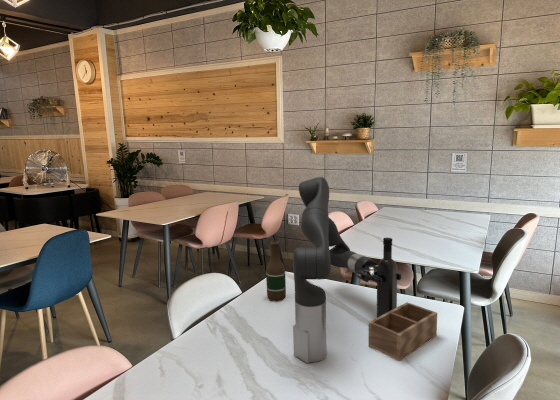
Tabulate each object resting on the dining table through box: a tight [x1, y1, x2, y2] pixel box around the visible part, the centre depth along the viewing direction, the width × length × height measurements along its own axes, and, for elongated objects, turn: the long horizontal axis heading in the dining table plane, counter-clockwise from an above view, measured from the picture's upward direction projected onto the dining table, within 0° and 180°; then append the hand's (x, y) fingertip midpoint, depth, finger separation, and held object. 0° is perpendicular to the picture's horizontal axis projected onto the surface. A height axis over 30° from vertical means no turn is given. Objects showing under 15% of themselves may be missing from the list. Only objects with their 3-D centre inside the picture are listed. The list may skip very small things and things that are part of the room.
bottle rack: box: [368, 301, 438, 362], centre depth 122 cm, size 21×11×8 cm, turn 130°
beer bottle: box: [265, 240, 287, 303], centre depth 156 cm, size 8×8×24 cm
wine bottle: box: [376, 237, 398, 318], centre depth 133 cm, size 6×6×30 cm
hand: (391, 279), depth 131 cm, fingers open, 7 cm apart
